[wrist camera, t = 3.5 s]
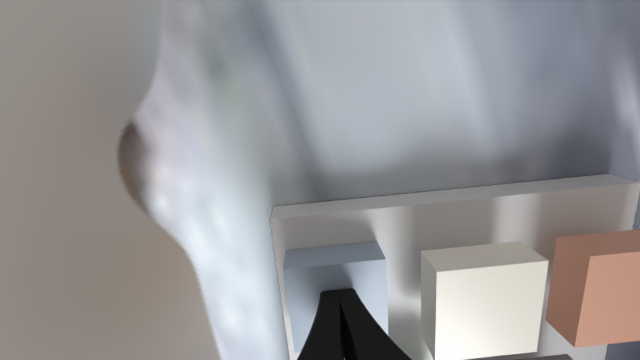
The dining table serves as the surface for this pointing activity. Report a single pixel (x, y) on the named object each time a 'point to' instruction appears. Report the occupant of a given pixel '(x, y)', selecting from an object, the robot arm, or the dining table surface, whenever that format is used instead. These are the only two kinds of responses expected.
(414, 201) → the light grey tray
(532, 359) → the grey key
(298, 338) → the slate blue key
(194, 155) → the dining table surface
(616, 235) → the terracotta key
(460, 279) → the cream key
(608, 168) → the dining table surface
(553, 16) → the dining table surface
